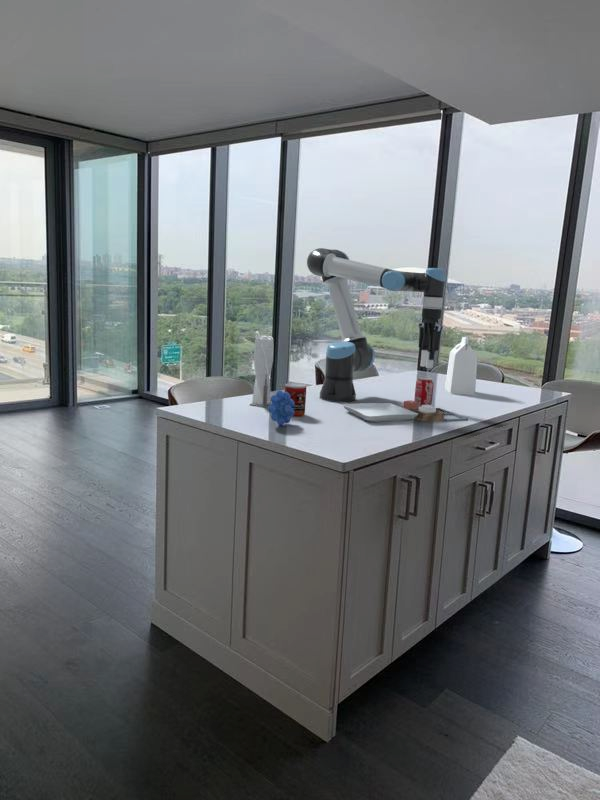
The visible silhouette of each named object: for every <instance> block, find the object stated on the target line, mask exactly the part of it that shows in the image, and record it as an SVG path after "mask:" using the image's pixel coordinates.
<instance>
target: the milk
mask: <svg viewBox="0 0 600 800" xmlns="http://www.w3.org/2000/svg"><path fill="white" fill-rule="evenodd" d="M469 339H470V338H469V337H466V336H462V337H461V340H460V343H458V344H456V345H455V346H454V348H452V349H451V350H450V352H449V355H448V356H449V357H448V364H447V370H446V371H447V372H446V377H445V384H444V390H445V389H446V390H447V391H448V392H447V391H446V390H445V391H446V392H447V393H449V394H450V393H452V394H451V395H461V394H467V395H466V396H476V387H477V386H476V385H477V372H478V371H477V370H478V354H477V353H476V351H475V350H474V349H473V348H472V347H471V346H470V344H469Z"/></svg>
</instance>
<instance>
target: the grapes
mask: <svg viewBox="0 0 600 800" xmlns="http://www.w3.org/2000/svg"><path fill="white" fill-rule="evenodd" d="M271 403H273V404H270V405H269V407H268V411H269V413H271V414H270V419H271V420H272V421H273V422H276V423H277V425H278V426H283V425H284V424H289V423H290V422H291V420H292V419H291V417H293V415H294V413H295V412H294V410H293V408H292V407H293V406H294V401H293V400H292V399H290V394H289V393H288V392H285V391H283V390H277V391H276V393H275V394H273V395H271Z"/></svg>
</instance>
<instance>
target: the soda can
mask: <svg viewBox="0 0 600 800" xmlns="http://www.w3.org/2000/svg"><path fill="white" fill-rule="evenodd" d="M414 389H415V391H414V399H413V401H416V402H419V404H418V407H421V406H422V405H431V406H432V403H433V397H434V396H433V395H434V381H433V378H432V377H425V376H418V377H417V380H416V381H415V388H414Z"/></svg>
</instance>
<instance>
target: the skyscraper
mask: <svg viewBox="0 0 600 800" xmlns="http://www.w3.org/2000/svg"><path fill="white" fill-rule="evenodd" d="M257 334H258V335H257ZM274 345H275V344H274V338H273V336H271V335H269V336H268V335H260V333H259V331H257V330H256V331H255V340H254V350H253V367H254V374H255V380H254V384H253V385H254V386H253V394H252V402H251V403H249V406H252V407H257V408H269V405H270V404H273V403H272V402H271V397H272V395H271V393H272V392H271V379H270V378H271V377H270V376H271V372H272V367H273V363H274V350H275V349H274V347H275V346H274Z"/></svg>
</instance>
